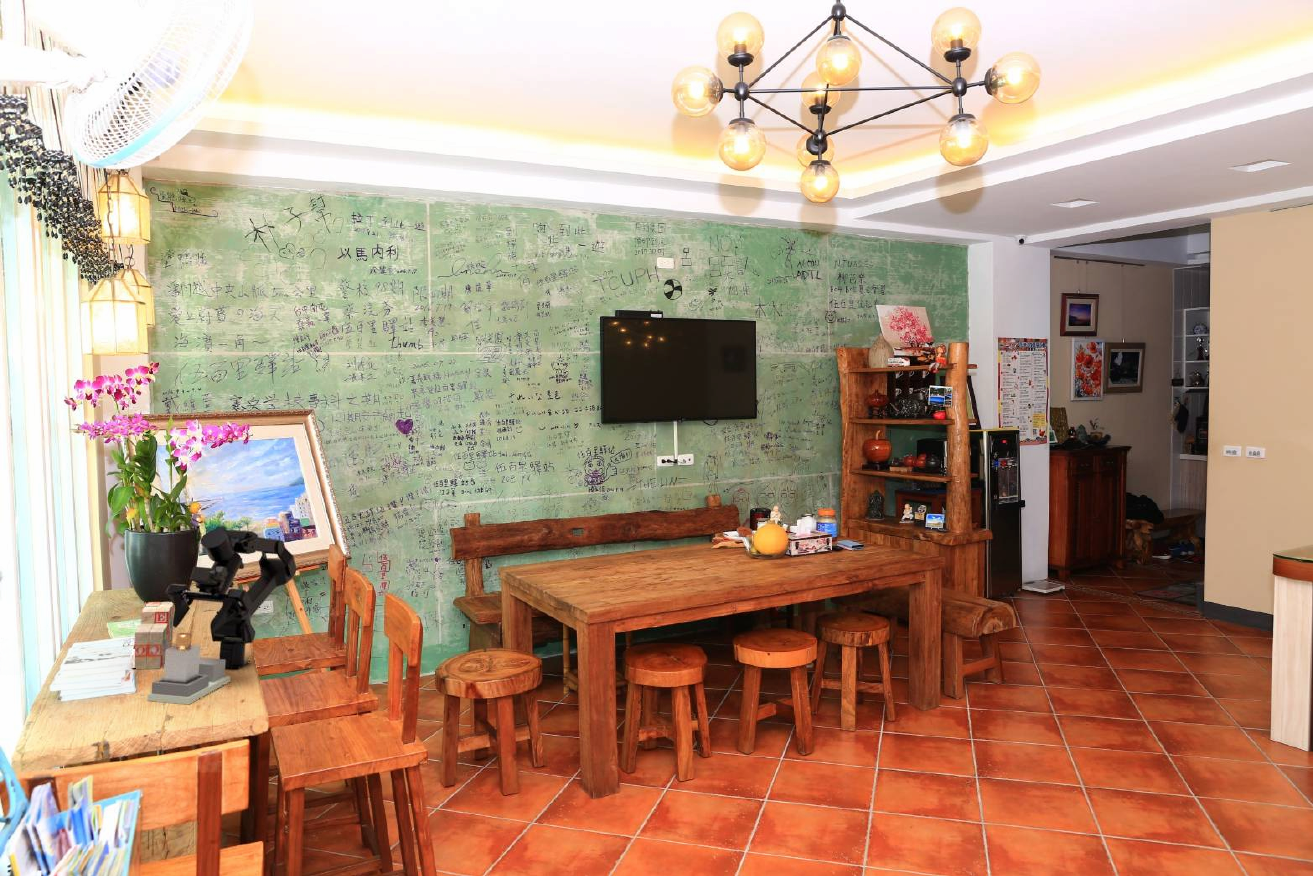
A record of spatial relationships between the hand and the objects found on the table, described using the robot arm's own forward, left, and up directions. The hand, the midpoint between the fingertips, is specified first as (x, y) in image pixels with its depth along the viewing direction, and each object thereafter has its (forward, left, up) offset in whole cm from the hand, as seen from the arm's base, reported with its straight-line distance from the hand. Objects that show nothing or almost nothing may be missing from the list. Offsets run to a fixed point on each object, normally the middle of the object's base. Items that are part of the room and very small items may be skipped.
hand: (193, 628), depth 206 cm
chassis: (+3, +2, -14) cm, 14 cm away
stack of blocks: (-19, -21, -14) cm, 32 cm away
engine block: (+7, +2, -12) cm, 14 cm away
